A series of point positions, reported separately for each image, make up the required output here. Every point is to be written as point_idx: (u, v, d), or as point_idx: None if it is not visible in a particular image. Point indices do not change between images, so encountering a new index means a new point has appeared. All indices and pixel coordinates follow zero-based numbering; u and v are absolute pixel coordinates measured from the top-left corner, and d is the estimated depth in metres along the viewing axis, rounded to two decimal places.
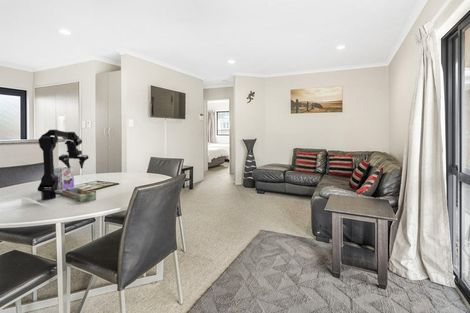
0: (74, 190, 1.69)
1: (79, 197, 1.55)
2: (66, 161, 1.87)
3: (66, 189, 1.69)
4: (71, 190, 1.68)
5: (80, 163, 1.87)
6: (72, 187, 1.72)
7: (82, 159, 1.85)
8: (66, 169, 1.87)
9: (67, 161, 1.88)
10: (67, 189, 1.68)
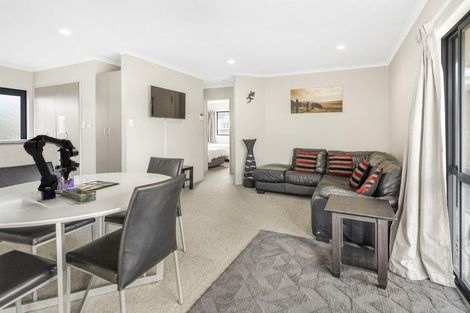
0: (74, 190, 1.69)
1: (79, 197, 1.55)
2: None
3: (66, 189, 1.69)
4: (71, 190, 1.68)
5: (62, 174, 1.71)
6: (72, 187, 1.72)
7: (65, 170, 1.66)
8: None
9: None
10: (67, 189, 1.68)
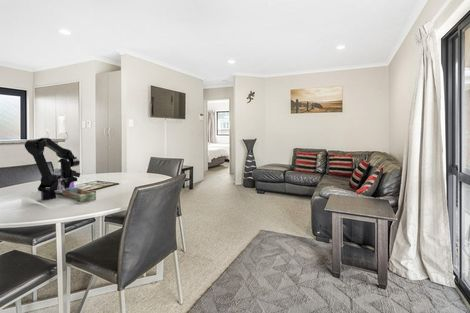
0: (74, 190, 1.69)
1: (79, 197, 1.55)
2: None
3: (66, 189, 1.69)
4: (71, 190, 1.68)
5: (63, 184, 1.71)
6: (72, 187, 1.72)
7: (66, 180, 1.67)
8: None
9: None
10: (67, 189, 1.68)
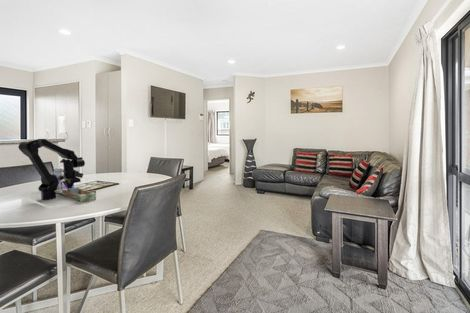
0: (75, 190, 1.69)
1: (79, 197, 1.55)
2: None
3: (67, 189, 1.68)
4: (72, 190, 1.67)
5: (66, 185, 1.69)
6: (73, 187, 1.71)
7: (69, 181, 1.64)
8: None
9: (68, 183, 1.72)
10: (68, 189, 1.68)
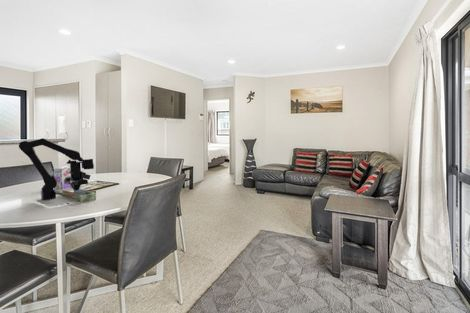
0: (83, 192, 1.63)
1: (79, 197, 1.55)
2: None
3: (74, 191, 1.63)
4: (80, 192, 1.62)
5: (73, 187, 1.64)
6: (80, 189, 1.66)
7: (77, 183, 1.59)
8: (66, 169, 1.87)
9: (75, 185, 1.66)
10: (75, 191, 1.62)
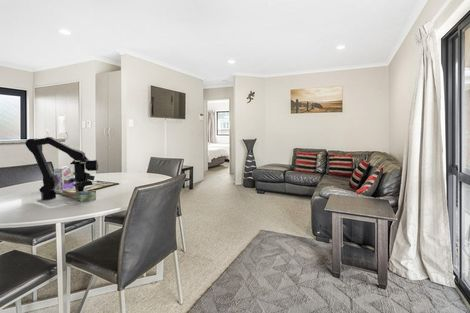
0: (87, 193, 1.60)
1: (79, 197, 1.55)
2: None
3: (78, 193, 1.60)
4: (84, 194, 1.59)
5: (77, 188, 1.60)
6: None
7: (81, 184, 1.56)
8: (66, 169, 1.87)
9: (79, 186, 1.63)
10: (79, 193, 1.59)
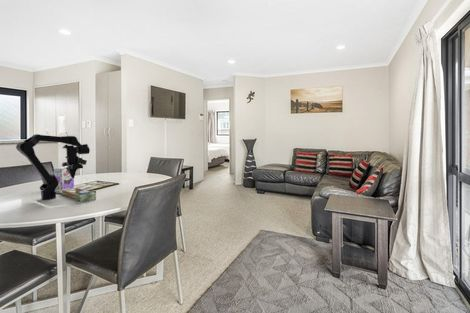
0: (87, 193, 1.60)
1: (79, 197, 1.55)
2: None
3: (78, 193, 1.60)
4: (84, 194, 1.59)
5: (69, 171, 1.66)
6: None
7: (71, 167, 1.61)
8: (66, 169, 1.87)
9: None
10: (79, 193, 1.59)
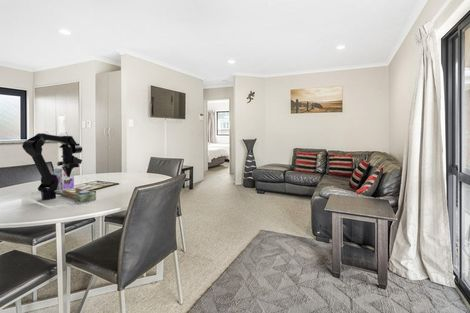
0: (87, 193, 1.60)
1: (79, 197, 1.55)
2: None
3: (78, 193, 1.60)
4: (84, 194, 1.59)
5: (65, 170, 1.70)
6: None
7: (68, 166, 1.66)
8: None
9: None
10: (79, 193, 1.59)
